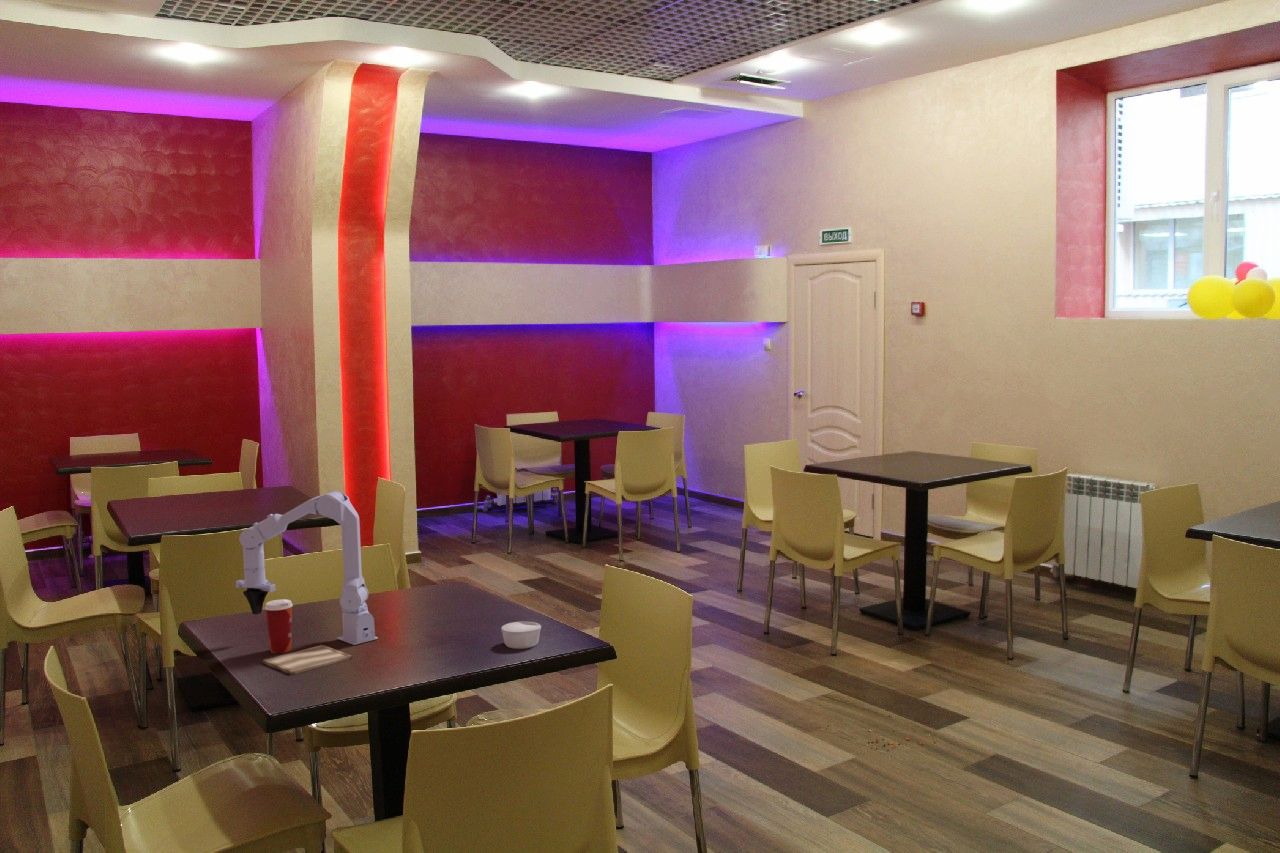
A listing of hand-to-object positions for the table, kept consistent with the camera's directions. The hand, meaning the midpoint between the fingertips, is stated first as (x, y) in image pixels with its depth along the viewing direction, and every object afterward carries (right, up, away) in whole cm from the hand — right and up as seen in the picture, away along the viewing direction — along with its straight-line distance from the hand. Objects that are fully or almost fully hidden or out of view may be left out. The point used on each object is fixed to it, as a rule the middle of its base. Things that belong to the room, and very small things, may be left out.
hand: (257, 613), depth 307 cm
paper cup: (+10, -9, -9) cm, 16 cm away
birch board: (+21, -10, -19) cm, 30 cm away
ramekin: (+78, -8, -8) cm, 79 cm away
